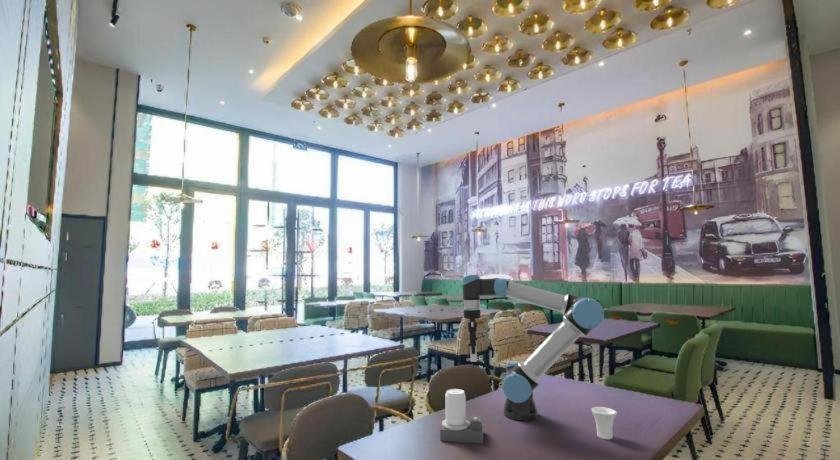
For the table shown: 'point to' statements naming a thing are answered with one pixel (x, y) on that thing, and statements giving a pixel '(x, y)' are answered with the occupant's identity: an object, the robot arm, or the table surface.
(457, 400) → the beverage can
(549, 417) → the table surface
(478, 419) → the grey hot plate stirrer
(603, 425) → the cup
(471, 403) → the table surface
